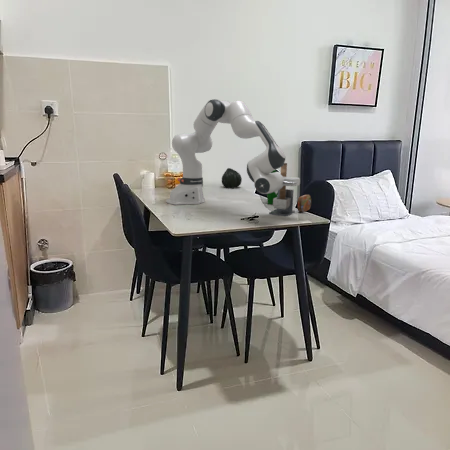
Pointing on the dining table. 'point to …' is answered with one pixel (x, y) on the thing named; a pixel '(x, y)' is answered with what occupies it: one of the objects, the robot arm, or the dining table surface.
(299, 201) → the tin
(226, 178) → the squash
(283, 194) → the brown wooden rod
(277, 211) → the bracket
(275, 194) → the milk carton
